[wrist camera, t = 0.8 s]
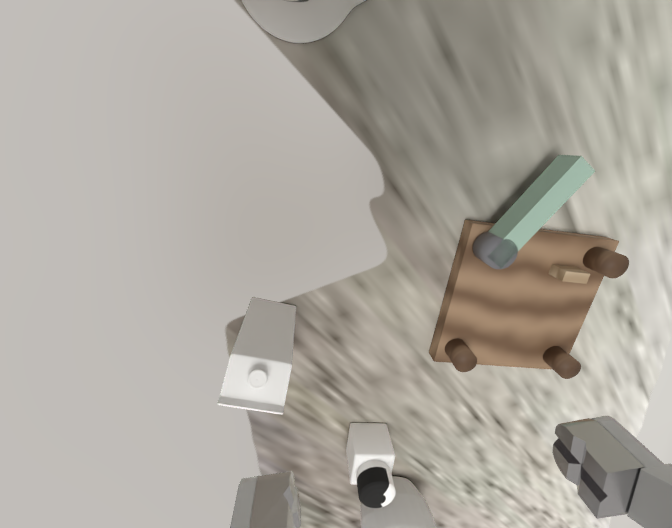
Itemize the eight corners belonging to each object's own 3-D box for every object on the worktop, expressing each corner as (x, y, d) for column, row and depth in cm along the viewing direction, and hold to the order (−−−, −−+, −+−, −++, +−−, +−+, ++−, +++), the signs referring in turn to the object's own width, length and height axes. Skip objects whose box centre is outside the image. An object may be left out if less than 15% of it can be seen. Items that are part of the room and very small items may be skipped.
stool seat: (465, 219, 50) (486, 230, 44) (605, 236, 53) (644, 249, 46) (428, 352, 58) (443, 377, 52) (552, 361, 61) (579, 385, 54)
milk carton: (286, 342, 55) (276, 437, 37) (244, 334, 54) (212, 429, 36) (296, 305, 53) (290, 388, 35) (252, 296, 51) (222, 377, 34)
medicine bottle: (345, 449, 64) (353, 514, 53) (350, 421, 62) (359, 483, 51) (381, 450, 65) (396, 514, 54) (386, 422, 63) (403, 483, 51)
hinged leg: (486, 265, 50) (500, 275, 46) (466, 248, 48) (479, 257, 45) (574, 172, 46) (598, 174, 42) (555, 151, 44) (578, 152, 41)
